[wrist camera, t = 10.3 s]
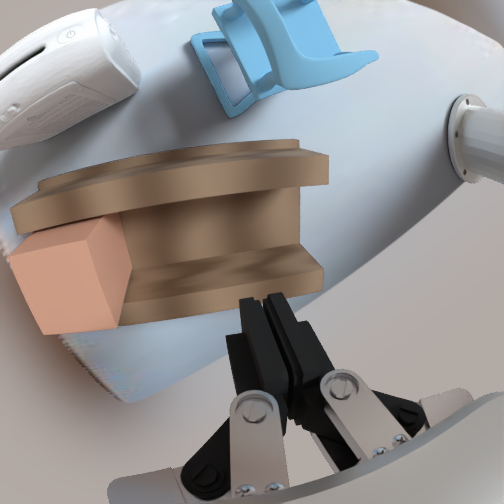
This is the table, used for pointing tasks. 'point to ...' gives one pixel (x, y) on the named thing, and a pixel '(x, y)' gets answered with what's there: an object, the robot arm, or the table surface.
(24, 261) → the block
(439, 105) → the table surface
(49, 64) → the photo printer
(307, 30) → the chair
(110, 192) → the chute
